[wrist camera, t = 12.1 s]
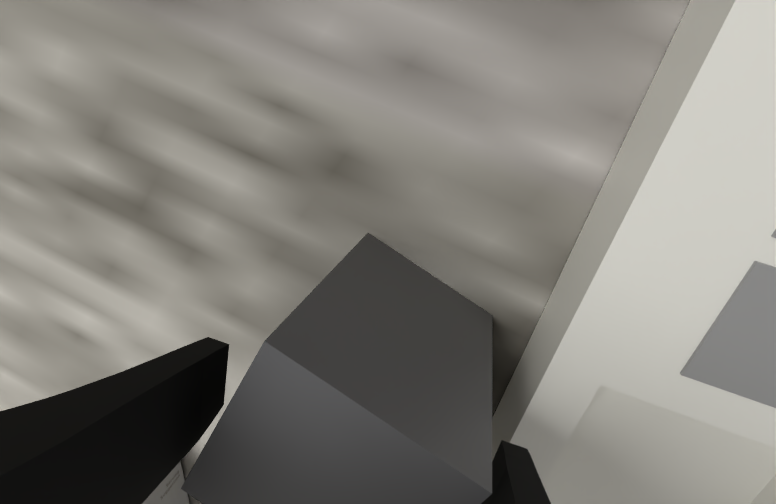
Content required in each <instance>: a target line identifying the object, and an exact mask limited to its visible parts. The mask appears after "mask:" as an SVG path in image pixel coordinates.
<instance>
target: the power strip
mask: <svg viewBox="0 0 776 504" xmlns="http://www.w3.org/2000/svg"><path fill="white" fill-rule="evenodd" d="M501 440H503V441H506V442H509V443H512V444H515V445H518V446H520V447H523V448H526V449H528V451H529V453H530V455H531V458H532V460H533V462H534V465H535V467H536V470H537V472H538V474H539V477H540V479H541V481H542V484H543V486H544V488H545V491H546V493H547V495H548V498H549V500H550V502H551V504H776V0H690V3H689V5H688V7H687V9H686V11H685V13H684V15H683V17H682V19H681V21H680V24H679V26H678V28H677V30H676V32H675V34H674V36H673V38H672V40H671V43H670V45H669V47H668V49H667V51H666V53H665V55H664V57H663V59H662V62H661V64H660V66H659V68H658V70H657V72H656V74H655V76H654V78H653V81H652V83H651V85H650V87H649V89H648V91H647V93H646V95H645V97H644V99H643V102H642V104H641V106H640V108H639V110H638V112H637V114H636V116H635V118H634V121H633V123H632V125H631V127H630V129H629V131H628V133H627V135H626V137H625V140H624V142H623V144H622V146H621V148H620V150H619V152H618V154H617V156H616V159H615V161H614V163H613V165H612V167H611V169H610V171H609V173H608V175H607V177H606V180H605V182H604V184H603V186H602V188H601V190H600V192H599V194H598V196H597V199H596V201H595V203H594V205H593V207H592V209H591V211H590V213H589V215H588V218H587V220H586V222H585V224H584V226H583V228H582V230H581V232H580V234H579V237H578V239H577V241H576V243H575V245H574V247H573V249H572V251H571V253H570V255H569V258H568V260H567V262H566V264H565V266H564V268H563V270H562V272H561V274H560V277H559V279H558V281H557V283H556V285H555V287H554V289H553V291H552V293H551V296H550V298H549V300H548V302H547V304H546V306H545V308H544V310H543V312H542V315H541V317H540V319H539V321H538V323H537V325H536V327H535V329H534V331H533V333H532V336H531V338H530V340H529V342H528V344H527V346H526V348H525V350H524V352H523V355H522V357H521V359H520V361H519V363H518V365H517V367H516V369H515V371H514V374H513V376H512V378H511V380H510V382H509V384H508V386H507V388H506V390H505V393H504V395H503V397H502V399H501V401H500V403H499V405H498V407H497V409H496V411H495V414H494V416H493V418H492V461H493V459H494V456H495V454H496V452H497V449H498V447H499V445H500V442H501Z"/></svg>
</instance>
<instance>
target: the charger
mask: <svg viewBox="0 0 776 504" xmlns="http://www.w3.org/2000/svg"><path fill="white" fill-rule="evenodd" d="M181 489H182V490H183V491H185V492H186V493H188V494H189V495H191V496H192V497H194V498H195V499H197V500H198V501H200V502H201V503H203V504H481V503H482V502H483V501H484V500H486V499H487V498H488V497H489V496H490V495H491V494H492V315H491V314H490V313H488V312H487V311H485V310H484V309H482V308H481V307H479V306H477V305H476V304H474V303H473V302H471V301H470V300H468V299H467V298H465V297H464V296H462V295H461V294H459V293H458V292H456V291H455V290H453V289H452V288H450V287H449V286H447V285H446V284H444V283H443V282H441V281H440V280H438V279H437V278H435V277H434V276H432V275H431V274H429V273H428V272H426V271H425V270H423V269H422V268H420V267H419V266H417V265H416V264H414V263H413V262H411V261H410V260H408V259H407V258H405V257H404V256H402V255H401V254H399V253H398V252H396V251H395V250H393V249H392V248H390V247H389V246H387V245H386V244H384V243H383V242H381V241H380V240H378V239H377V238H375V237H374V236H372V235H371V234H369V233H367V234H366V235H365V237H364V238H363V239H362V240H361V241H360V242H359V243H358V244H357V245H356V246H355V247H354V248H353V249H352V250H351V251H350V252H349V253H348V254H347V255H346V256H345V257H344V258H343V260H342V261H341V262H340V263H339V264H338V265H337V266H336V267H335V268H334V269H333V270H332V271H331V272H330V273H329V274H328V275H327V276H326V277H325V278H324V279H323V280H322V282H321V283H320V284H319V285H318V286H317V287H316V288H315V289H314V290H313V291H312V292H311V293H310V294H309V295H308V296H307V297H306V298H305V299H304V300H303V301H302V302H301V304H300V305H299V306H298V307H297V308H296V309H295V310H294V311H293V312H292V313H291V314H290V315H289V316H288V317H287V318H286V319H285V320H284V321H283V322H282V323H281V324H280V325H279V327H278V328H277V329H276V330H275V331H274V332H273V333H272V334H271V335H270V336H269V337H268V338H267V339H266V340H265V341H264V343H263V345H262V346H261V348H260V350H259V352H258V354H257V355H256V357H255V359H254V361H253V362H252V364H251V366H250V368H249V369H248V371H247V373H246V375H245V376H244V378H243V380H242V382H241V383H240V385H239V387H238V389H237V390H236V392H235V394H234V396H233V397H232V399H231V401H230V403H229V404H228V406H227V408H226V410H225V412H224V413H223V415H222V417H221V419H220V420H219V422H218V424H217V426H216V427H215V429H214V431H213V433H212V434H211V436H210V438H209V440H208V441H207V443H206V445H205V447H204V448H203V450H202V452H201V454H200V455H199V457H198V459H197V461H196V463H195V464H194V466H193V468H192V470H191V471H190V473H189V475H188V477H187V478H186V480H185V482H184V484H183V485H182V487H181Z"/></svg>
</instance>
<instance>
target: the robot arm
mask: <svg viewBox="0 0 776 504" xmlns="http://www.w3.org/2000/svg"><path fill="white" fill-rule="evenodd" d="M228 350H229V344H226V343H224V342H221V341H218V340H215V339H212V338H209V337H207V338H205V339H202V340H199V341H197V342H194V343H192V344H189V345H187V346H184V347H182V348H179V349H177V350H175V351H172V352H170V353H167V354H165V355H163V356H160V357H158V358H155V359H153V360H150V361H148V362H145V363H143V364H140V365H138V366H135V367H133V368H130V369H128V370H125V371H123V372H120V373H117V374H115V375H112V376H109V377H106V378H104V379H101V380H98V381H95V382H93V383H90V384H87V385H84V386H82V387H79V388H76V389H73V390H70V391H67V392H64V393H61V394H58V395H55V396H52V397H49V398H46V399H42V400H39V401H35V402H32V403H29V404H25V405H22V406H18V407H15V408H11V409H8V410H4V411H0V504H142V503H143V502H144V501H145V500H146V499H147V498H148V497H149V496H150V494H151V493H152V492H153V491H154V490H155V489H156V488H157V487H158V485H159V484H160V483H161V482H162V481H163V480H164V479H165V478H166V477H167V475H168V474H169V473H170V472H171V471H172V470H173V469H174V468H175V467H176V465H177V464H178V463H179V462H180V461H181V460H182V459H183V458H184V456H185V455H186V454H187V453H188V452H189V451H190V450H191V448H192V447H193V446H194V445H195V444H196V443H197V442H198V440H199V439H200V438H201V436H202V435H203V434H204V432H205V431H206V430H207V428H208V427H209V425H210V424H211V423H212V421H213V420H214V418H215V417H216V415H217V414H218V412H219V411H220V409H221V408H222V406H223V405H224V394H225V383H226V372H227V361H228ZM481 504H551V502H550V500H549V498H548V495H547V493H546V491H545V488H544V486H543V484H542V481H541V479H540V477H539V474H538V472H537V470H536V467H535V465H534V462H533V460H532V458H531V455H530V453H529V451H528V449H526V448H523V447H520V446H518V445H515V444H512V443H509V442H506V441H503V440H501V442H500V445H499V447H498V449H497V452H496V454H495V456H494V459H493V461H492V494H491V495H490V496H489V497H488V498H487V499H486V500H484V501H483V502H482V503H481Z"/></svg>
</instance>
